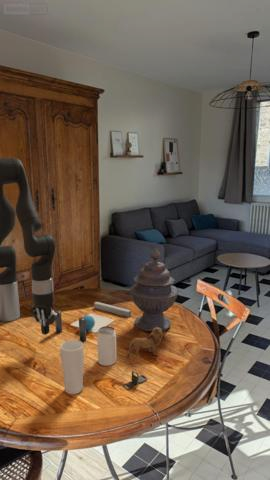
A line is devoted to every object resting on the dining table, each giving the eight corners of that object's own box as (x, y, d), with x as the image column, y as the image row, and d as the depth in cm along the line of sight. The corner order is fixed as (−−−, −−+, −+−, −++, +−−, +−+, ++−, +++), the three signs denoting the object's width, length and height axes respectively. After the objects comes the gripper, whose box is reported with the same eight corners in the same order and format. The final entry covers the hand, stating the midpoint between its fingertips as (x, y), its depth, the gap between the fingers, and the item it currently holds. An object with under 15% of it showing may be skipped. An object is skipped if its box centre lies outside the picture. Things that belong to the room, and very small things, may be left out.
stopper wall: (94, 307, 167) (94, 303, 167) (96, 306, 169) (96, 301, 168) (128, 317, 156) (128, 312, 156) (130, 315, 158) (130, 310, 158)
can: (113, 367, 117) (113, 335, 115) (95, 365, 119) (94, 333, 116) (118, 357, 124) (117, 326, 121) (101, 355, 125) (100, 324, 122)
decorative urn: (120, 330, 142) (124, 247, 136) (138, 314, 160) (143, 240, 155) (167, 341, 135) (174, 254, 129) (180, 323, 153) (187, 246, 147)
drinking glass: (64, 383, 109) (61, 340, 106) (85, 382, 109) (83, 339, 106) (61, 397, 102) (58, 351, 99) (84, 396, 103) (82, 350, 100)
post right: (78, 340, 136) (77, 319, 134) (82, 337, 138) (81, 316, 136) (83, 342, 134) (82, 320, 133) (87, 339, 137) (86, 318, 135)
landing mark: (70, 325, 149) (70, 324, 149) (91, 313, 161) (91, 313, 161) (95, 333, 142) (95, 332, 142) (115, 320, 153) (115, 320, 153)
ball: (76, 318, 143) (86, 310, 147) (78, 329, 145) (88, 321, 150) (87, 323, 139) (97, 315, 144) (88, 335, 142) (98, 327, 146)
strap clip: (142, 376, 113) (142, 364, 112) (148, 380, 111) (148, 368, 110) (121, 387, 108) (121, 374, 107) (127, 391, 105) (127, 379, 104)
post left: (54, 332, 143) (53, 312, 141) (59, 329, 145) (57, 309, 143) (59, 333, 141) (57, 313, 140) (63, 331, 144) (62, 311, 142)
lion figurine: (158, 345, 131) (158, 323, 129) (165, 352, 127) (165, 329, 125) (123, 355, 125) (122, 332, 123) (129, 362, 120) (129, 339, 118)
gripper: (22, 289, 125) (25, 333, 129) (48, 297, 118) (50, 343, 122) (38, 283, 131) (40, 325, 135) (63, 290, 124) (65, 334, 128)
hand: (45, 333), depth 128 cm, fingers closed
